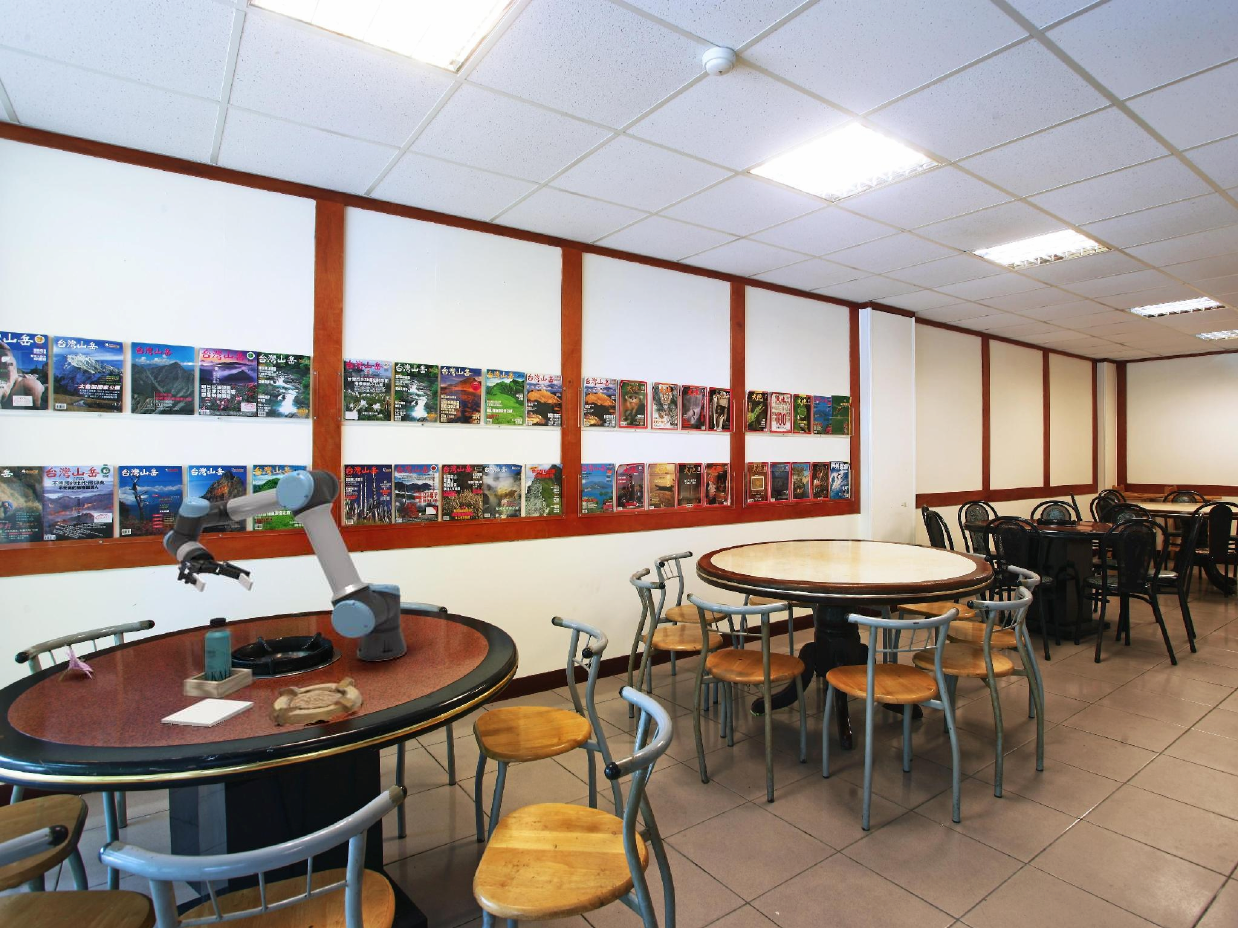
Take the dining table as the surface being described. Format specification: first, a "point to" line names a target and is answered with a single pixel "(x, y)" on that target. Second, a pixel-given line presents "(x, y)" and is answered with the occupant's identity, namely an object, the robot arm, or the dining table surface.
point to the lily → (76, 663)
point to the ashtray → (315, 703)
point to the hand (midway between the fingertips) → (227, 586)
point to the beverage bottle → (218, 652)
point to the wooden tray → (217, 684)
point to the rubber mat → (208, 712)
